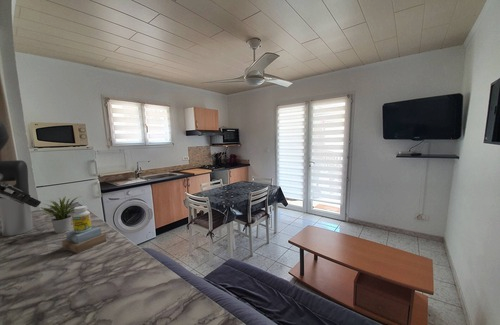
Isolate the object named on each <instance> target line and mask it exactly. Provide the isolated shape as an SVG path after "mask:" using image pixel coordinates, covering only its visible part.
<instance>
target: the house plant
mask: <svg viewBox="0 0 500 325" xmlns="http://www.w3.org/2000/svg"><path fill="white" fill-rule="evenodd" d="M79 198H82V196H76V197H75V198H73V199H72V200H71V201H70V199H71V198H68V199H67V200H66V196H64V197H63V198H62V199H61V198H60V197H58V199H59V204H58V202H56V200H52V199H51V198H50V200H46V201H47V202H49V203H52V204H53V205H50V204H45V203H44V205H45V206H48V207H50V208H51V209H50V208H48V207H40V209H42V210H44V211H45V214H51V217H53V218H51V225H52V226H53V229H54V232H55V233H56V234H60V233H66V232H69V231H71V228H72V221H73V218H72V215H73V214H72V215H70V213H71V212H74V208H75V206H74V207H71V206H72V204H73V203H74V202H76V201H77V200H76V199H79ZM65 201H66V202H65ZM42 215H44V213H43V214H42Z"/></svg>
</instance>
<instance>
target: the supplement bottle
mask: <svg viewBox="0 0 500 325" xmlns="http://www.w3.org/2000/svg"><path fill="white" fill-rule="evenodd" d="M74 207H75V206H74ZM73 210H74V211H73V212H74V213H72V224H73V226H72V227H73V230H74V232H75V233H82V232H86V231H88V230H90V229H91V225H92V221H91V220H92V219H91V212H90V210H88V206H87V205H80V206H76V207H75V208H73Z"/></svg>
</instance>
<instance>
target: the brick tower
mask: <svg viewBox="0 0 500 325" xmlns="http://www.w3.org/2000/svg"><path fill="white" fill-rule="evenodd" d="M65 236H66V239H63V240H61V241H62V249H65V250H67V251H70V252H73V253H76V254H79V253H81V252H84V251H86V250H88V249H89V250H90V248H93V247H95V246H99V245H101V244H102V243H105V242H106V241H107V237H106V236H107V235H106V233H103V232H102V228H101V227H100V226H99V227H98V226H94V225H92V224H91V229H90V230H88V231H86V232H82V233H75V232H74V229H73V230H68V231H66V232H65Z"/></svg>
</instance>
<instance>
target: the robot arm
mask: <svg viewBox="0 0 500 325" xmlns="http://www.w3.org/2000/svg"><path fill="white" fill-rule="evenodd" d="M9 138H10V137H9V133H8V131H7V128H6V127H5V124H4V122H3V121H2V120H1V119H0V152H1V151H2V150H3V149H4V147H5V146H6V145H7V143H8V141H9ZM4 182H15V183H14V185H12V184H9V183H4ZM40 204H42V201H41V200H39V199H36V198H34V197H31V195H30V186H29V169H28V164H27V162H25V161H24V160H0V225H1V232H2V236H3V237H12V236H17V235H22V234H25V233H28V232H31V231H32V230H33V229H34V224H33V223H34V222H33V216H32V207H33V208H37V207H38V206H39V205H40Z"/></svg>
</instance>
